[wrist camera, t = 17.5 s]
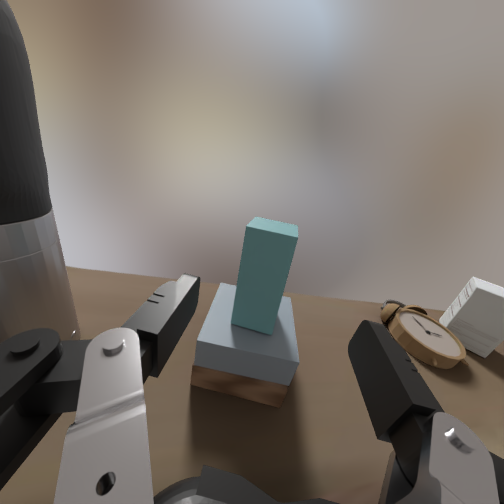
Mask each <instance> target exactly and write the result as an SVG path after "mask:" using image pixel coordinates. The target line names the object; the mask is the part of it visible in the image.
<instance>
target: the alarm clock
mask: <svg viewBox="0 0 504 504" xmlns="http://www.w3.org/2000/svg"><path fill="white" fill-rule="evenodd" d="M387 303H390V304H389V305H387V306H386V304H387ZM399 307H402V309H399ZM381 309H382V312H381V319H382V321H383V322H386V320H389V319H390V318H391V317H392V316H393V317H392V319H391V320H390V321H389V323H388V328H389V331H390V333H391V335H392V336H393V337H394V339H395V340H396V341H397V342H398V344H399V345H400V346H401V347H402V348H403V349H404V350H406V351H407V352H408V353H410V354H411V355H412V356H414V357H415V358H417V359H419V360H421V361H422V362H424V363H426V364H429V365H431V366H434V367H437V368H442V369H450V368H453V367H454V366H455V365H456V364H457V363H458V362H462V363H463V364H465V365H466V366H468V365H469V364H468V363H467V362H466V361H465V360H463V359H464V358H465V356H466V351H465V347H464V346H463V344H462V343H461V342H460V340H459V339H458V338H457V337H456V336H455V335H454V334H453V333H452V332H451V331H450V330H448V329H447V328H446V327H445V326H443V325H442V324H441V323H439V322H437V321H436V320H434V319H433V318H431V317H429V316H427V313H426V311H425V310H424V309H423V308H421V307H419V306H416V305H408V306H406V305H404V304H402V303H400V302H398V301H395V300H386V301H385V302H384V304H383V306H381ZM398 309H399V310H398ZM396 311H397V312H396ZM395 313H396V314H395ZM394 314H395V315H394Z"/></svg>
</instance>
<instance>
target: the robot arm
mask: <svg viewBox="0 0 504 504" xmlns="http://www.w3.org/2000/svg"><path fill="white" fill-rule="evenodd" d="M199 287H200V277H197V276H193V275H189V274H183V275H182V276H181V278H180V279H179V280H178V281H177V282H174V281H169V282H167V283H165V284H163V285H161V286H160V287H159V288H158V289H157V290H156V291H155V292H154V293H153V295H151V296H150V297H149V298H148V300H147V301H145V302H144V304H143V305H142V306H141V307H140V308H139V309H138V310H137V311H136V312H135V313H134V314H133V315H132V316H131V317H130V318H129V319H128V320H127V321H126V322H125V323H124V324H123V325H122V326H121V327H120V328H114V329H110V330H108V331H105V332H103V333H101V334H99V335H98V336H97V337H95V338H94V339H91V340H79V339H80V329H79V325H78V320H77V316H76V311H75V306H74V302H73V297H72V293H71V288H70V284H69V279H68V275H67V270H66V266H65V261H64V257H63V253H62V248H61V244H60V239H59V235H58V231H57V227H56V222H55V218H54V213H53V209H52V204H51V200H50V195H49V187H48V175H47V168H46V162H45V157H44V153H43V147H42V141H41V135H40V129H39V123H38V116H37V109H36V101H35V95H34V87H33V81H32V75H31V70H30V64H29V60H28V56H27V52H26V48H25V44H24V40H23V37H22V34H21V32H20V29H19V27H18V24H17V22H16V19H15V16H14V14H13V12H12V10H11V8H10V6H9V4H8V2H7V0H0V490H1V489H2V488H3V487H4V485H5V484H6V483H7V482H8V481H9V479H10V478H11V477H12V476H13V474H14V473H15V472H16V471H17V469H18V468H19V467H20V466H21V464H22V463H23V462H24V461H25V459H26V458H27V457H28V456H29V454H30V453H31V452H32V451H33V449H34V448H35V447H36V446H37V444H38V443H39V442H40V441H41V439H42V438H43V437H44V436H45V434H46V433H47V432H48V431H49V429H50V428H51V427H52V426H53V424H54V423H55V422H56V421H57V419H58V418H59V417H60V416H61V414H62V413H64V412H73V411H77V412H76V418H75V421H74V423H73V424H71V425H70V426H69V428H68V431H67V434H66V437H65V442H64V447H63V453H62V459H61V464H60V470H59V476H58V481H57V487H56V493H55V499H54V504H339V503H335V502H332V501H328V500H325V499H321V498H318V499H310V500H303V501H295V502H288V503H280V502H278V501H276V500H275V499H273V498H272V497H270V496H269V495H268V494H266V493H265V492H263V491H262V490H261V489H259V488H258V487H256V486H255V485H253V484H252V483H251V482H249V481H248V480H246V479H245V478H244V477H242V476H241V475H237V474H234V473H230V472H227V471H223V470H220V469H216V468H213V467H209V466H206V465H203V468H202V472H201V476H199V477H191V478H188V479H184V480H181V481H179V482H177V483H174V484H172V485H170V486H169V487H167V488H166V489H164V490H162V491H161V492H159V493H158V494H157V495H156V496H155V497H153V489H152V478H151V466H150V455H149V444H148V432H147V421H146V409H145V399H144V392H143V384H144V383H145V381H146V379H147V378H148V376H153V377H156V378H158V376H159V374H160V373H161V371H162V369H163V367H164V366H165V364H166V362H167V360H168V359H169V357H170V355H171V353H172V352H173V350H174V348H175V346H176V345H177V343H178V341H179V339H180V337H181V336H182V334H183V332H184V330H185V329H186V327H187V325H188V323H189V322H190V320H191V318H192V316H193V315H194V313H195V310H196V307H197V303H198V296H199ZM348 354H349V358H350V361H351V364H352V366H353V369H354V372H355V375H356V378H357V381H358V384H359V387H360V390H361V393H362V396H363V399H364V401H365V404H366V407H367V410H368V413H369V416H370V419H371V422H372V425H373V428H374V431H375V434H376V436H377V439H379V440H382V441H386V442H389V443H392V445H393V448H394V450H393V451H392V452H391V454H390V456H389V460H388V465H387V469H386V473H385V477H384V481H383V485H382V489H381V494H380V498H379V502H378V504H504V459H502V458H500V457H498V456H497V455H495V454H493V453H491V452H489V451H488V450H487V448H486V447H485V445H484V444H483V442H482V441H481V440H480V439H479V438H478V436H477V435H476V434H475V433H474V432H473V431H472V430H471V429H470V428H468V427H467V426H466V425H465V424H464V423H462V422H461V421H460V420H458V419H457V418H455V417H453V416H451V415H449V414H447V413H445V412H444V411H443V409H442V407H441V406H440V404H439V403H438V401H437V400H436V398H435V397H434V395H433V393H432V392H431V390H430V389H429V387H428V386H427V384H426V383H425V381H424V380H423V378H422V376H421V375H420V373H418V372H417V371H418V370H417V369H416V367H415V366H414V364H413V363H411V359H410V358H409V356H408V355H407V353H406V352H405V350H404V349H403V348H402V347H401V346H400V345H399V344H398V343H397V342H396V341H395V340H394V339H393V338H392V337H391V336H390V334H389V332H388V331H387V329H386V328H385V326H384V325H383V324H379V323H376V322H372V321H368V320H364V321H362V322H361V324H360V325H359V327H358V329H357V330H356V332H355V334H354V335H353V337H352V339H351V340H350V342H349V345H348Z"/></svg>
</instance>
